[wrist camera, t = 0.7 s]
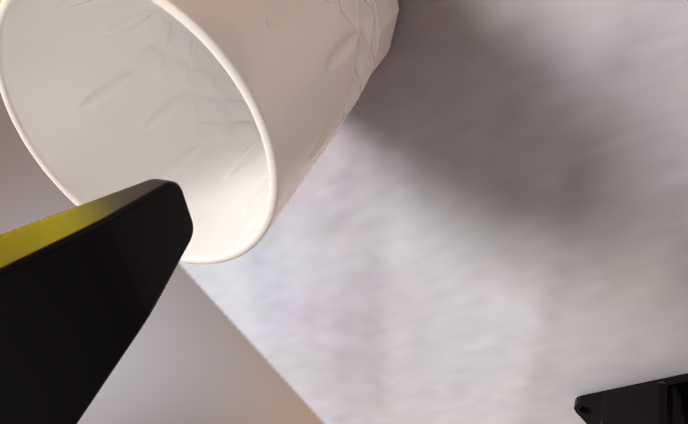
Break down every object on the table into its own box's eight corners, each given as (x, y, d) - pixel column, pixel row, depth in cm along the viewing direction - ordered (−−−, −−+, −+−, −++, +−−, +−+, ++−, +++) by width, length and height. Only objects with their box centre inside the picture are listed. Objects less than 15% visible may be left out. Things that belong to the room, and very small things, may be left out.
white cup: (422, -125, 18) (253, -17, 11) (412, 114, 23) (292, 297, 16) (195, -133, 20) (-64, -51, 13) (231, 82, 25) (56, 227, 18)
